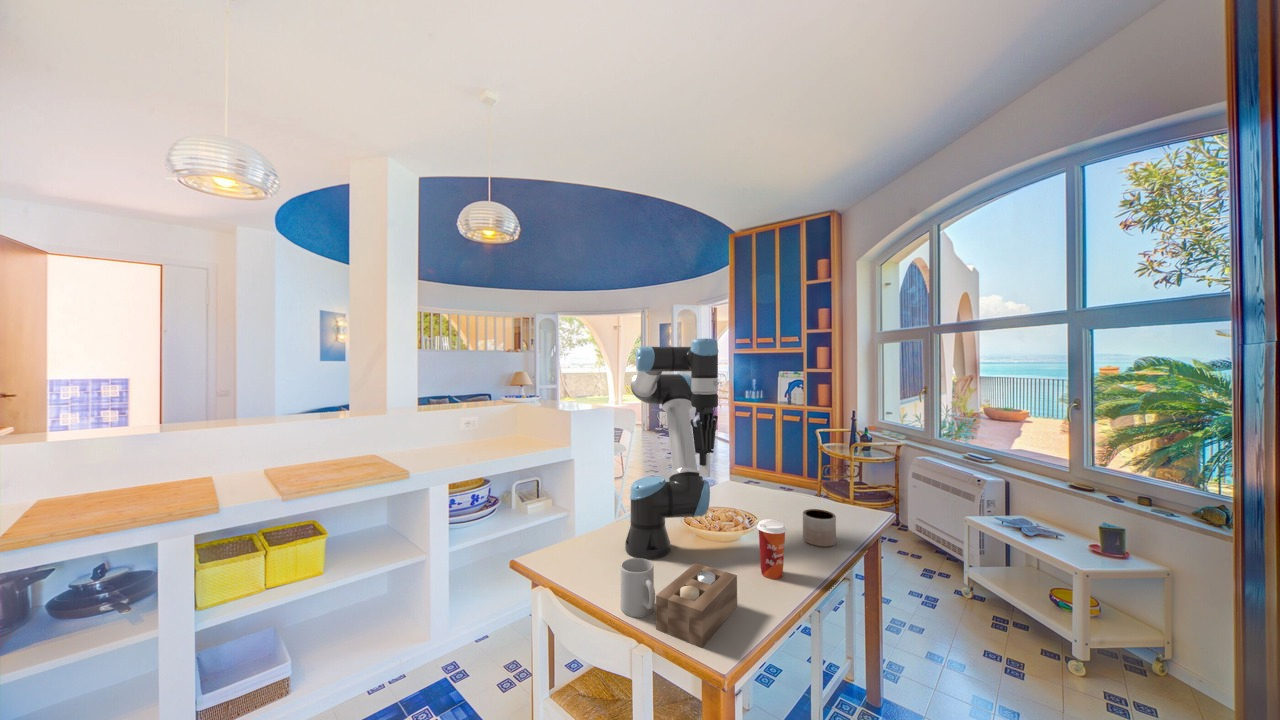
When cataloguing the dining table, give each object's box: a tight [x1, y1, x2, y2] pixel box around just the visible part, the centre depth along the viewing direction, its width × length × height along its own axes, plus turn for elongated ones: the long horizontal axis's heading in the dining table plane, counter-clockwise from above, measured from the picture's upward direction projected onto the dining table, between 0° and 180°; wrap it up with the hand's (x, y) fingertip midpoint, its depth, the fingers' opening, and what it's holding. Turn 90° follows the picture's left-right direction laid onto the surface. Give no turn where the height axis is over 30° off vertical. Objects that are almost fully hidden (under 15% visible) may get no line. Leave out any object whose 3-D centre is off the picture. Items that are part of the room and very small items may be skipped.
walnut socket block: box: [655, 562, 738, 649], centre depth 109 cm, size 12×20×8 cm, turn 146°
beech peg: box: [680, 586, 699, 601], centre depth 105 cm, size 4×4×8 cm
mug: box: [620, 557, 656, 618], centre depth 112 cm, size 12×8×11 cm
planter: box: [802, 508, 837, 548], centre depth 155 cm, size 11×11×10 cm
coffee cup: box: [756, 518, 787, 580], centre depth 131 cm, size 8×8×15 cm
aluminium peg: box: [697, 571, 715, 585], centre depth 113 cm, size 4×4×8 cm
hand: (704, 476), depth 126 cm, fingers closed
